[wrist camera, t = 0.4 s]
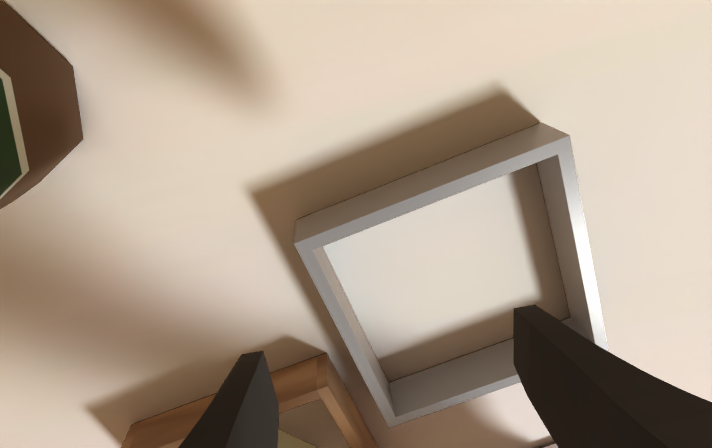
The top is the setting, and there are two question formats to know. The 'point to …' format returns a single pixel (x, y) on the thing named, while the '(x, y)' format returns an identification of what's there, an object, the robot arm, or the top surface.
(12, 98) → the beer bottle
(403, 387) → the grey bin
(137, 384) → the top surface
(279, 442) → the sage block
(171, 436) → the walnut bin
